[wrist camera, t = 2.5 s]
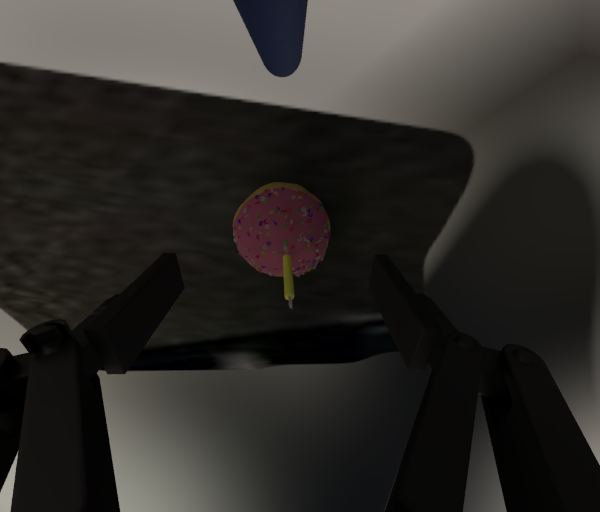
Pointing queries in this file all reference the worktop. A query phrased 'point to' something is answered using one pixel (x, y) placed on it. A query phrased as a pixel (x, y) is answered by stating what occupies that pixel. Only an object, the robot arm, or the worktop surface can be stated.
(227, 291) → the worktop surface
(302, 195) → the cupcake
